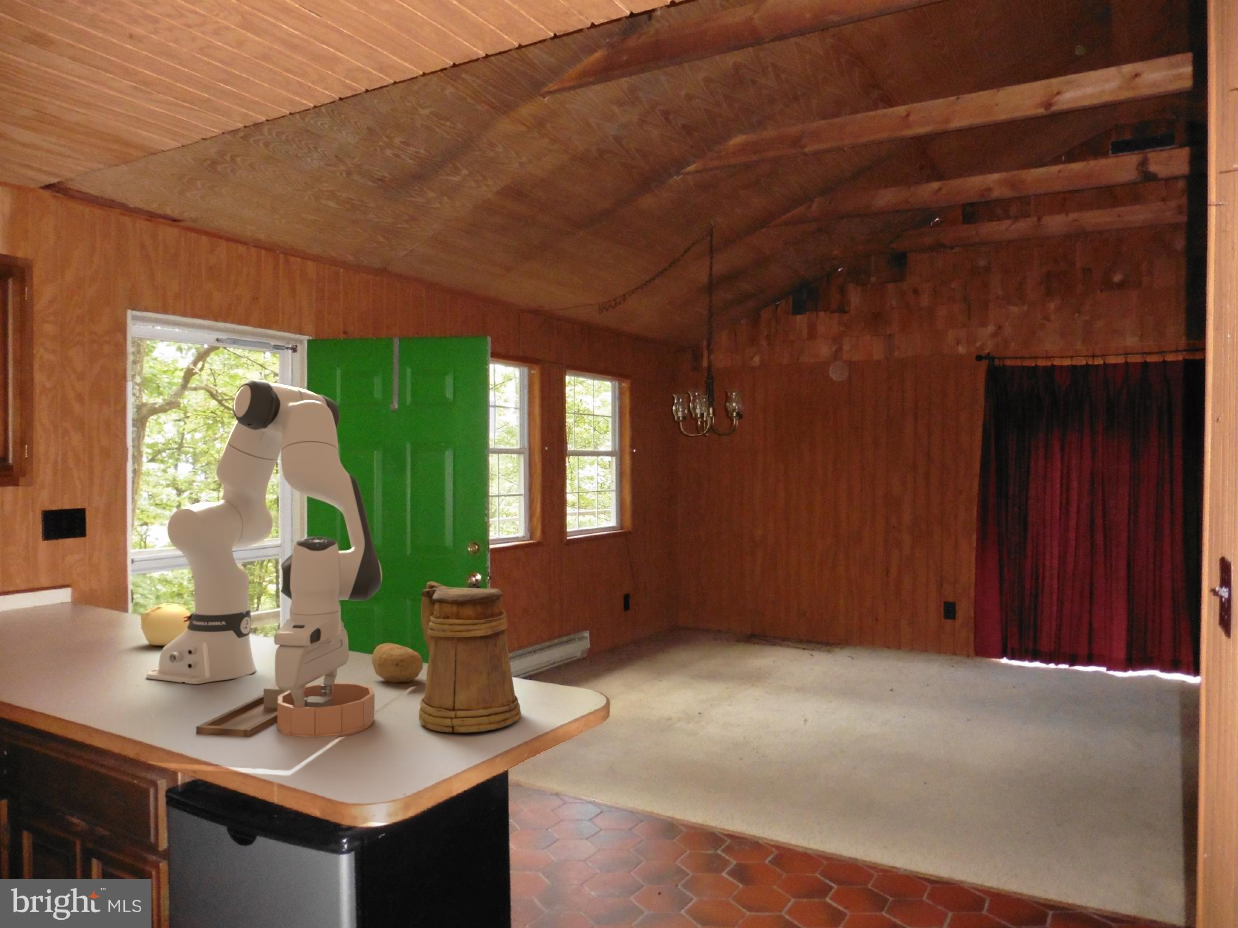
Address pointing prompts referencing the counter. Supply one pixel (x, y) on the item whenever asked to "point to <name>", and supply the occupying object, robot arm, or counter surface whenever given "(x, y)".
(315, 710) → the bowl
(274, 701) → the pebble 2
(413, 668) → the potato
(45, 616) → the counter surface
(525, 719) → the counter surface
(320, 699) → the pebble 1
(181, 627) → the yellow apple
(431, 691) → the tankard
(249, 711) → the parts tray
